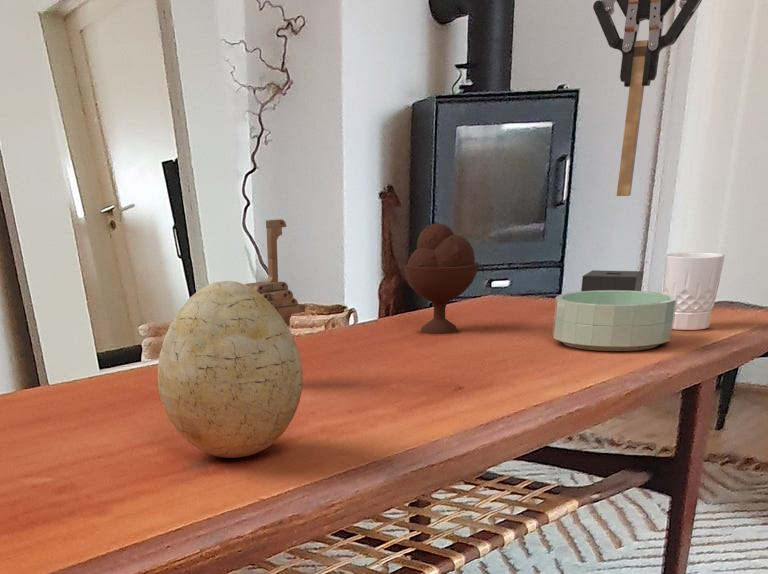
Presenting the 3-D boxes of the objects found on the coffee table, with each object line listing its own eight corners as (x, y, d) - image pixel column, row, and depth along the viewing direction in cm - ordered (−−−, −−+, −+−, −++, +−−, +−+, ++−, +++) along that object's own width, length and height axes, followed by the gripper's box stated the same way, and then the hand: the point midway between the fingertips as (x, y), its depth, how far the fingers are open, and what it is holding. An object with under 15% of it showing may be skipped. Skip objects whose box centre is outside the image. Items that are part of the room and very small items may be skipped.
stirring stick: (630, 195, 132) (650, 41, 124) (628, 195, 131) (648, 40, 123) (618, 195, 133) (636, 42, 125) (616, 196, 131) (634, 40, 123)
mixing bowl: (676, 336, 137) (683, 291, 134) (662, 355, 124) (669, 307, 122) (564, 331, 143) (569, 289, 140) (540, 349, 131) (544, 303, 128)
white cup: (670, 321, 149) (679, 251, 144) (721, 325, 144) (733, 253, 139) (647, 328, 144) (656, 256, 139) (700, 332, 139) (711, 258, 134)
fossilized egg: (241, 430, 96) (233, 269, 90) (333, 453, 88) (331, 278, 81) (136, 456, 89) (119, 283, 82) (225, 484, 80) (214, 294, 74)
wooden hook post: (271, 376, 120) (266, 218, 112) (308, 383, 115) (305, 219, 107) (159, 399, 110) (145, 227, 102) (195, 408, 105) (183, 229, 97)
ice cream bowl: (397, 335, 144) (399, 226, 137) (411, 324, 154) (413, 221, 147) (468, 337, 141) (474, 225, 134) (478, 325, 151) (484, 220, 144)
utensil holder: (638, 309, 161) (643, 271, 158) (631, 316, 154) (636, 276, 151) (588, 308, 164) (592, 270, 161) (578, 314, 157) (582, 275, 155)
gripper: (719, -79, 118) (696, 84, 126) (604, -66, 124) (588, 90, 132) (713, -91, 112) (689, 81, 120) (593, -76, 118) (577, 87, 126)
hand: (636, 85), depth 126 cm, fingers closed on stirring stick, 1 cm apart
